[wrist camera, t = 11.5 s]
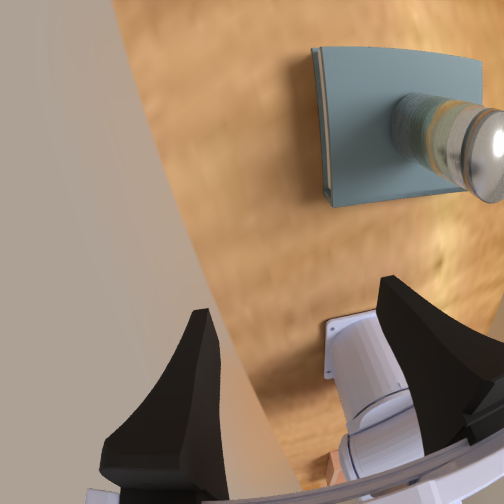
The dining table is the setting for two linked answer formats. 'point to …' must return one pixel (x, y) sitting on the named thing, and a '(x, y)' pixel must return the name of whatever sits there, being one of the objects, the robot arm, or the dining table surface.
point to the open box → (334, 470)
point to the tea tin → (453, 141)
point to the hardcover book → (380, 118)
